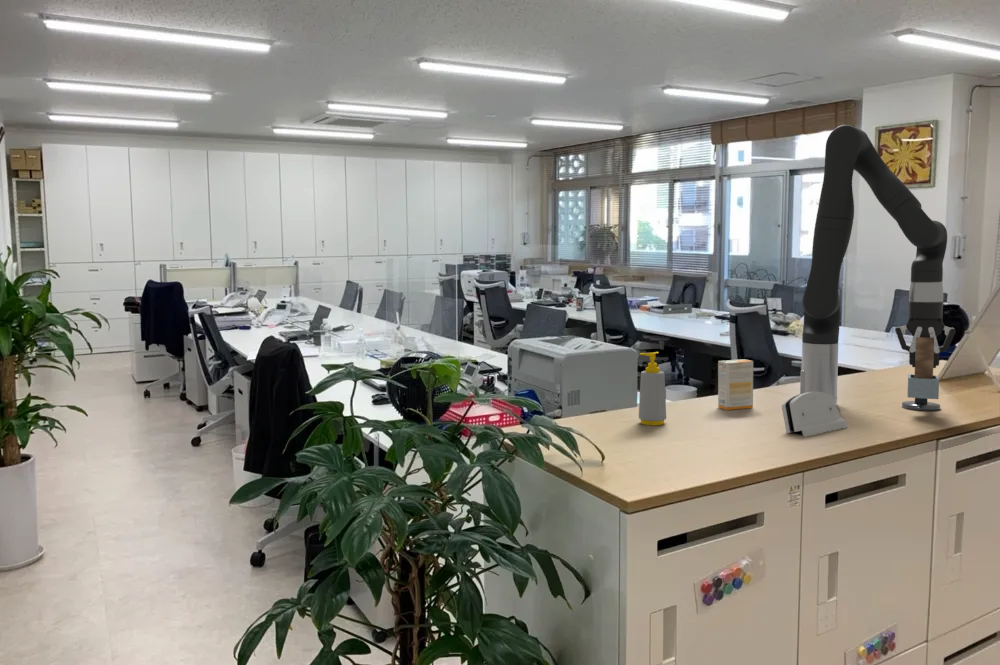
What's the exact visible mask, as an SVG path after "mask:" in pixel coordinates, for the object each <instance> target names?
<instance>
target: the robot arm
mask: <svg viewBox="0 0 1000 665" xmlns="http://www.w3.org/2000/svg"><path fill="white" fill-rule="evenodd" d="M824 152H825V153H824V171H823V180H822V186H821V190H820V196H819V201H818V208H817V212H816V219H815V224H814V228H813V231H814V232H813V240H812V250H811V252H812V253H811V264H810V265H811V266H810V271H809V275H808V279H807V283H806V285H805V290H804V293H803V296H802V301H801V304H802V308H803V328H802V337H801V338H802V339H801V340H802V342H801V370H800V382H799V383H800V385H799V386H800V388H799V394H803V393H807V392H823V393H827V394H830V395H831V396H832V397H833V399H834V402H835V404H836V406H837V404H838V378H839V377H838V371H839V370H838V368H839V340H840V338H839V337H840V320H841V319H840V318H841V317H840V316H841V296H840V295H839V284H840V274H841V268H842V265H843V261H844V259H845V256H846V253H847V250H848V246H849V243H850V240H851V235H852V229H853V225H854V218H855V203H854V202H855V201H854V193H853V175H854V171H855V172H857V173H858V174H859V175H860V176H861V178H863V180H864V181H865V183H867V185H868V187H869V188H870V190H871V191H872V193H873V195H874V196H875V198H876V199H877V201H878V202H879V203H880V205H881V206H882V207H883V208H884V209H885V211H886V212H887V213H888V214H889V215H890V216H891V218H893V219H894V220H895V221H896V223H897V225H898V227H899V228H900V230H901V231H902V233H903V235H904V236H905V237H906V238H907V240H908V242H910V243H911V244H912V245H913V246H915V247H916V253H915V259H914V260H913V261H912V262H911V267H910V285H909V290H908V291H909V292H908V320H907V322H906V324H905V325H902V326H896V327H895V329H894V330H895V333H896V337H897V339H898V342H899V344H900V347H901V349H902V350H903V351H907V352H908V354H909V356H908V362H909V363H908V364H909V365H910V366H912V368H915V348H916V337H930V338H934V361H933V369H936V368H937V367H938V366H939V365H940V355H941V354H942V353H943V352H947V351H948V350H949V348H950V345H951V344H952V342H953V339H954V337H955V334H956V329H955V328H954V327H949V326H946V325H945V324H944V322H943V315H944V314H943V310H944V286H943V280H944V279H943V277H944V276H943V275H944V274H943V273H944V269H943V268H944V267H943V264H944V261H945V260H944V259H945V256H946V255H945V254H946V250H947V245H948V232H947V228H946V226H945V225H944V224H943V223H942V222H941V221H938V220H933V219H931V218H930V217H929V216H928V215H927V213H926V212H925V211H924V210H923V208H922V203H921V202H920V201H919V199H918V198H917V197H916V196H915V195H914V193H912V191H911V190H910V189H909V188H908V187H907V186H906V185H905V184H904V183H903V182H902V180H900V179H899V177H898V176H897V175H896V174H895V173H894V172H893V171H892V170H891V169H890V168H889V166H888V165H887V164H886V162H884V160H883V158H882V157H881V156H880V154H879V153H878V151H877V149H876V148H875V146H874V145H873V143H872V141H871V140H870V138H869V137H868V134H867V133H866V132H865V131H864V130H862V129H861V128H858V127H856V126H853V125H850V124H842V125H839V126H837V127H835V128H834V129H833V130H832V131H831V132H830V133H829V135H828V137H827V139H826V142H825V151H824ZM906 330H908V332H909V333H910V334H911V335H912V340H911V343H910V344H909V345H908V344H907V343H906V340H905V337H904V335H905V334H906ZM943 331H944V335H945V336H946V337H945V340H944V342H943V343H942V346H939V343H938V339H937V337H938V336H939V335H940V333H942V332H943Z"/></svg>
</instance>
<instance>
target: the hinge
mask: <svg viewBox="0 0 1000 665" xmlns="http://www.w3.org/2000/svg"><path fill="white" fill-rule="evenodd" d="M781 410H782V416H783V420H784V427H785V432H786V434H791V433H796V432H801V433H802V436H803V437H805V438H806V437H810V436H815V435H819V434H818V433H820V434H823V433H822V432H825V433H827V432H826V431H829V432H832V431H831V430H834V431H837V430H836V429H838V430H842V429H841V428H843V429H846V428H845V427H847V428H848V425H847V421H846V420H845V419H844V418H843V417H841V415H840V413H839V410H838V407H837V405H836V404H835V402H834V399H833V397H832V396H831V395H830V394H827V393H823V392H807V393H803V394H800V393H799V394H796V395H794V396H792V397H790V398H788V399H787V400H786V401H784V402H783V403H782V405H781Z"/></svg>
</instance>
